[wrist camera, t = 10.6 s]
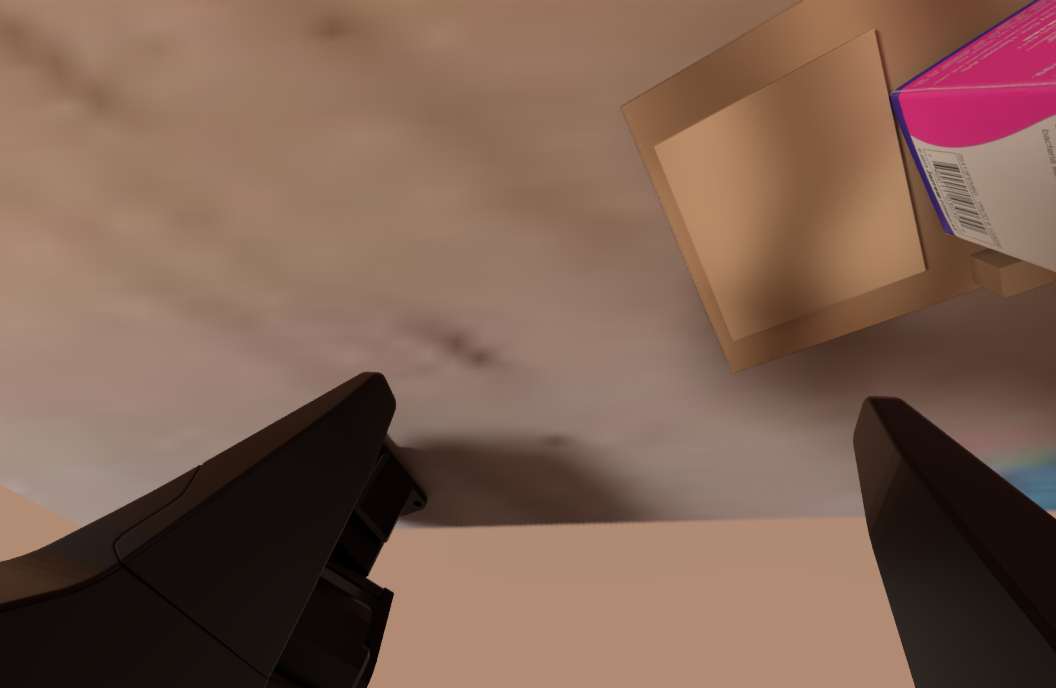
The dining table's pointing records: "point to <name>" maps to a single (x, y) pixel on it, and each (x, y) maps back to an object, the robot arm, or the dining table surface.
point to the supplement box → (991, 135)
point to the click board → (813, 175)
